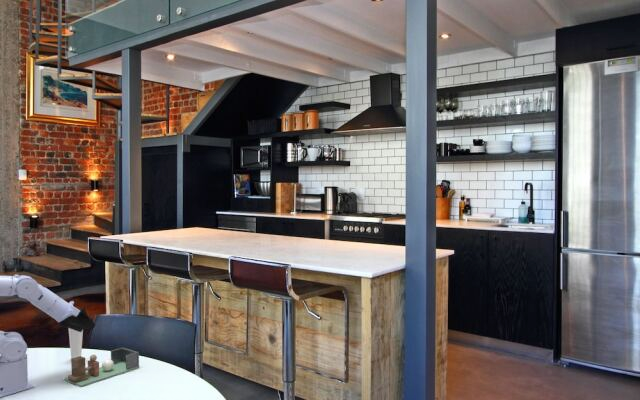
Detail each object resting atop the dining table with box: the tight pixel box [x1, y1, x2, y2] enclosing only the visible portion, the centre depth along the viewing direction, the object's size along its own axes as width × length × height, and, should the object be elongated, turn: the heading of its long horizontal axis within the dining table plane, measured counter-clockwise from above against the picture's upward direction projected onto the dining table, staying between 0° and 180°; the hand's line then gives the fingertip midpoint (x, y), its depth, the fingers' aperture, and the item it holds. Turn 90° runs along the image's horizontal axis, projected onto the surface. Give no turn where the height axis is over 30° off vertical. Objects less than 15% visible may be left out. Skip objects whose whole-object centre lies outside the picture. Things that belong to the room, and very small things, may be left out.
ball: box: [101, 358, 114, 371], centre depth 161 cm, size 4×4×4 cm
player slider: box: [67, 354, 100, 382], centre depth 154 cm, size 8×4×6 cm, turn 144°
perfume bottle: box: [68, 328, 84, 362], centre depth 171 cm, size 5×4×15 cm
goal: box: [110, 347, 140, 370], centre depth 165 cm, size 4×9×5 cm, turn 54°
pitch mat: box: [63, 362, 139, 388], centre depth 159 cm, size 19×10×1 cm, turn 144°
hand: (87, 328), depth 159 cm, fingers open, 7 cm apart
